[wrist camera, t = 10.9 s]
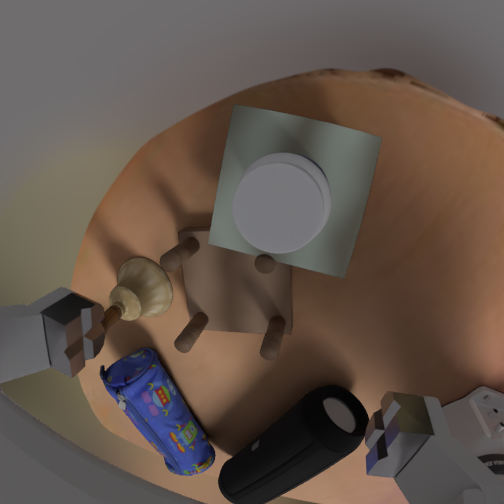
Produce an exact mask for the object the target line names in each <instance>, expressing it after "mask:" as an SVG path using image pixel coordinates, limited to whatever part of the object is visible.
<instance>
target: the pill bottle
mask: <svg viewBox="0 0 504 504" xmlns="http://www.w3.org/2000/svg"><path fill="white" fill-rule="evenodd" d="M331 206H332V195H331V190H330V186H329V183H328V180H327V177H326V175H325V173H324V171H323V170H322V168H321V167H320V166H319V165H318V164H317V163H316V162H315V161H313V160H312V159H310V158H308V157H306V156H303V155H300V154H295V153H287V152H280V153H273V154H269V155H266V156H264V157H262V158H260V159H258V160H257V161H255V162H254V163H253V164H251V165H250V166H249V167H248V168H247V170H246V171H245V172H244V173H243V175H242V177H241V179H240V181H239V183H238V185H237V187H236V189H235V192H234V195H233V199H232V215H233V219H234V222H235V225H236V227H237V229H238V231H239V232H240V234H241V235H242V236H243V238H244V239H245V240H246V241H247V242H249V243H250V244H251V245H253V246H254V247H256V248H258V249H260V250H262V251H265V252H269V253H275V254H282V253H289V252H292V251H296V250H298V249H300V248H302V247H303V246H305V245H306V244H307V243H309V242H310V241H311V240H312V239H313V238H314V237H316V236H317V235H318V234H319V233H320V232H321V230H322V229H323V228H324V226H325V224H326V223H327V221H328V218H329V216H330V212H331Z"/></svg>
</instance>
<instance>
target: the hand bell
mask: <svg viewBox="0 0 504 504" xmlns="http://www.w3.org/2000/svg"><path fill="white" fill-rule="evenodd" d="M172 298H173V289H172V285H171V282H170V280H169V278H168V276H167V274H166V273H165V272H164V270H163V269H162V268H161V267H160V266H159V265H158V264H156V263H155V262H153V261H151V260H149V259H146V258H140V257H137V258H132V259H130V260H128V261H126V262H125V263H124V264H123V265H122V266H121V268H120V270H119V273H118V277H117V286H116V287H115V288H114V289H113V290H112V291H111V293H110V296H109V302H110V307H109V309H107V310H106V311H105V312H104V319H103V320H102V321H101V324H102V326H103V328H104V330H105V334H106V332H107V330H108V328H109V327H110V326H111V325H112V324H113V323H115V322H116V321H117V320H118V319H120V318H121V319H123V320H127V321H132V320H135V319H137V318H138V317H140V316H141V315H142V316H146V317H156V316H159V315H162V314H163V313H165V312H166V311H167V310H168V309H169V307H170V305H171V302H172Z"/></svg>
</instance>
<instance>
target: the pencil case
mask: <svg viewBox="0 0 504 504" xmlns="http://www.w3.org/2000/svg"><path fill="white" fill-rule="evenodd" d="M100 377H101V379H102V380H103V383H104V385H105V387H106V389H107V391H108V392H109V393H110V395H111V396H112V397H113V398H115V399H116V401H117V403H118V405H119V408H121V409H122V410H123V411H124V412H125V413H126V415H127V416H128V417H129V418H130V419H131V421H132V422H133V424H134V425H135V426H136V428H137V429H138V430H139V431H140V432H141V434H142V435H143V436H144V437H145V438H146V439H147V440H148V441H149V443H150V444H151V445H152V446H153V447H154V448H155V449H156V450H157V451H158V452H159V453H160V454H161V455H163V457H164V460H165V464H166V466H167V468H168V469H169V471H170V472H172V473H174V474H178V475H190V476H191V475H193V474H198V473H202V472H204V471H206V470H207V469H208V468H210V467H211V465H212V464H213V463H214V460H215V450H214V448H213V446H212V445H211V444H210V443H209V441H208V438H207V436H206V435H205V433H204V432H203V431H202V429H201V428H200V426H199V425H198V423H197V422H196V420H195V419H194V417H193V416H192V414H191V413H190V411H189V409H188V407H187V405H186V404H185V402H184V400H183V398H182V397H181V395H180V393H179V391H178V390H177V388H176V386H175V385H174V383H173V382H172V380H171V379H170V377H169V376H168V374H167V373H166V371H165V369H164V368H163V367H162V366H161V363H160V361H159V359H158V356H157V353H156V352H155V351H154V350H152V349H150V348H143V349H140V350H138V351H136V352H135V353H132V354H130V355H128V356H126V357H124V358H122V359H120V360H118V361H116V362H115V363H113V364H112V365H111V366H110V367H109V368H108V369H107V370H106V371H105V368H104V365H102V366H100Z"/></svg>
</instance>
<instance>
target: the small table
mask: <svg viewBox="0 0 504 504" xmlns="http://www.w3.org/2000/svg"><path fill="white" fill-rule="evenodd" d="M381 141H382V137H379V136H375V135H372V134H368V133H365V132H361V131H358V130H354V129H350V128H347V127H343V126H339V125H335V124H331V123H327V122H323V121H319V120H314V119H310V118H305V117H301V116H296V115H291V114H286V113H281V112H276V111H271V110H266V109H260V108H254V107H248V106H242V105H235V104H234V105H233V110H232V115H231V120H230V125H229V130H228V135H227V140H226V145H225V150H224V156H223V161H222V166H221V172H220V177H219V183H218V188H217V194H216V199H215V205H214V211H213V217H212V223H211V229H210V235H209V241H208V244H212V245H215V246H219V247H223V248H227V249H231V250H235V251H239V252H242V253H246V254H250V255H254V256H259V255H260V256H261V254H268V256H270V257H271V256H272V257H273V258H274V260H275V261H277V262H281V263H285V264H289V265H293V266H296V267H300V268H304V269H308V270H312V271H316V272H320V273H324V274H327V275H331V276H335V277H339V278H343V279H344V278H345V275H346V272H347V269H348V266H349V262H350V259H351V256H352V253H353V249H354V246H355V243H356V239H357V236H358V232H359V229H360V225H361V222H362V218H363V214H364V211H365V207H366V203H367V199H368V196H369V192H370V188H371V184H372V180H373V176H374V172H375V167H376V163H377V159H378V154H379V150H380V146H381ZM280 152H287V153H295V154H300V155H303V156H306V157H308V158H310V159H312V160H313V161H315V162H316V163H317V164H318V165H319V166H320V167H321V168H322V170H323V171H324V173H325V175H326V177H327V180H328V183H329V186H330V190H331V195H332V206H331V212H330V216H329V218H328V221H327V223H326V224H325V226H324V228H323V229H322V230H321V232H320V233H319V234H318V235H317V236H316V237H314V238H313V239H312V240H311V241H310V242H309V243H307V244H306V245H305V246H303V247H302V248H300V249H298V250H296V251H292V252H289V253H282V254H275V253H269V252H265V251H262V250H260V249H258V248H256V247H254V246H253V245H251V244H250V243H249V242H247V241H246V240H245V239H244V238H243V236H242V235H241V234H240V232H239V231H238V229H237V227H236V225H235V222H234V219H233V215H232V199H233V195H234V192H235V189H236V187H237V185H238V183H239V181H240V179H241V177H242V175H243V173H244V172H245V171H246V170H247V168H248V167H249V166H250V165H251V164H253V163H254V162H255V161H257V160H258V159H260V158H262V157H264V156H266V155H269V154H273V153H280ZM262 256H263V255H262ZM262 256H261V257H262ZM266 256H267V255H266ZM264 257H265V256H264ZM270 257H269V258H270ZM272 257H271V258H272ZM265 258H266V259H267V257H265ZM269 260H272V259H269Z"/></svg>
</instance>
